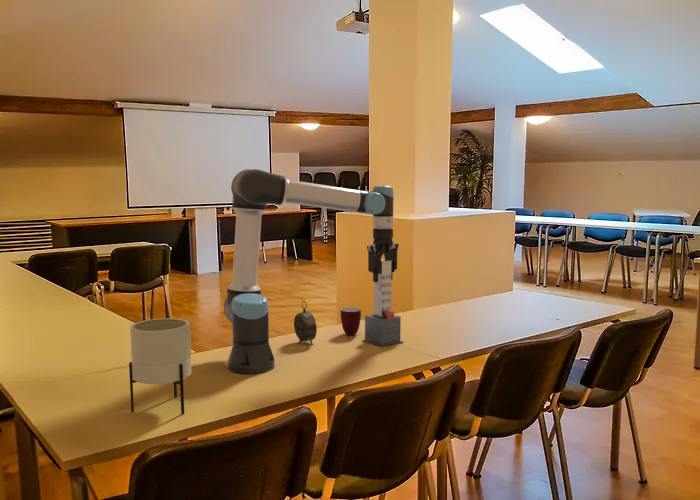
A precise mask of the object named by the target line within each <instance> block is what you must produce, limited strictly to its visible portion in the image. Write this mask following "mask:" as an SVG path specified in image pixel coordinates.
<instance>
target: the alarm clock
mask: <svg viewBox="0 0 700 500" xmlns="http://www.w3.org/2000/svg"><path fill="white" fill-rule="evenodd" d="M304 303H305V308H304V306H303V304H304ZM301 308H302V311H300V312H298V313H296V314H295V317H294V319H293V326H294V327H293V328H294V332H295V335H296V337H297V339H298V340H299V341H298V345H301V342H304V343H305V342H309V343H310V345H311V346H314V344H313V340H314V339H315V338H316V336H317V331H318V330H317V329H318V328H317V323H316V319H315V316H314V315H313V313H312V312H310V311H308V310H306V309H307V302H306V301H304V300H303V301H302V302H301Z"/></svg>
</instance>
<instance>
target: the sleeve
mask: <svg viewBox="0 0 700 500" xmlns="http://www.w3.org/2000/svg"><path fill="white" fill-rule="evenodd" d="M401 318H402V317H401V316H400V315H395V311H393V310H391V311H387V312H385V318H383V319H380V318H377V317H374V313H372V314H366V315H365V316H364V339H362V340H361V342H363V343H365V344H369V345H372V346H374V347H378V348H385V347H389V346H394V345H399V344H404V341H403V340H401V320H402V319H401Z"/></svg>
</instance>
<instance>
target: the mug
mask: <svg viewBox="0 0 700 500" xmlns="http://www.w3.org/2000/svg"><path fill="white" fill-rule="evenodd" d="M361 317H362V309H361V308H358V307H344V308H340V322H341V326H342V330H343V332H344V333H345V335H346V336H349V337H350V336H356V334H357V333H358V331H359V329H360V323H361V319H362V318H361Z"/></svg>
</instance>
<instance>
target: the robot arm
mask: <svg viewBox="0 0 700 500" xmlns="http://www.w3.org/2000/svg"><path fill="white" fill-rule="evenodd" d="M230 190H231V194H232V204H231V205H232V207H231V208H232V209H233V211H234V212H235V213H236V214H235V231H234V232H235V233H234V245H233V246H234V248H233V261H232V262H233V263H232V264H233V265H232V279H231V283H230V284H229V285H228V286H227V289H226V298H225V301H224V303H223V310H224V311H223V312H224V314H225V316H226V318H227V320H228V321H229V322H230V323H231V324H232V325H231V326H232V348H231V350H230V352H229V356H228V360H227V369H228V370H229V371H230V372H232V373H237V374H245V375H246V374H247V375H248V374H249V375H250V374H259V373H265V372H267V371H270V370H272V369H274V368H275V365H276V364H275V356H274V353H273V352H272V348H271V345H270V339H269V338H270V337H269V336H270V333H269V330H270V329H269V328H270V327H269V310H270V307H269V301H268V299H267V297H266V296H264V295H262V287H261V286H260V285H259V284H258V278H259V277H258V276H259V275H258V274H259V262H260V259H259V258H260V245H261V229H262V215H263V214H264V213H266V212H267V209H268V208H267V207H268V205H275V206H276V205H277V206H282V205H283V204H293V205H300V206H307V207H308V206H309V207H315V208H321V209H329V210H335V211H336V210H338V211H343V212H344V213H351V214H352V213H358V214H359V213H360V214H366V215H372V226H373V228H372V238H373V242H372V243H371V244H369V245H367V246H366V249H367V255H368V257H367V259H368V260H367V261H368V262H367V263H368V267H367V269H368V272H370V273H372V281H373V283H374V284H373V285H374V287H373V288H374V289H373V291H374V290H375V291H380V274H379V268H380V261H381V260H382V256H384V259H385V260H391V281H392V280H393V274H394V272H396V271H395V270H397V269H398V250H399V246H400V245H399V243H394V242H393V238H394V228H393V227H394V199H395V197H394V189H393V187H392V186H391V185H374V186H373V188H372V190H371V191H366V190H359V189H352V188H347V187H346V188H345V187H338V186H331V185H326V184H320V183H319V184H318V183H314V182H313V183H312V182H307V181H298V180H293V179H287V177H286V176H285V175H280V174H275V173H272V172H269V171H268V172H267V171H265V170H262V169H257V168H255V169H250V168H249V169H244V170H241V171H239V172H238V173H237V174H236V175H235V176H234V177H233V178H232V182H231V185H230Z"/></svg>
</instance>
